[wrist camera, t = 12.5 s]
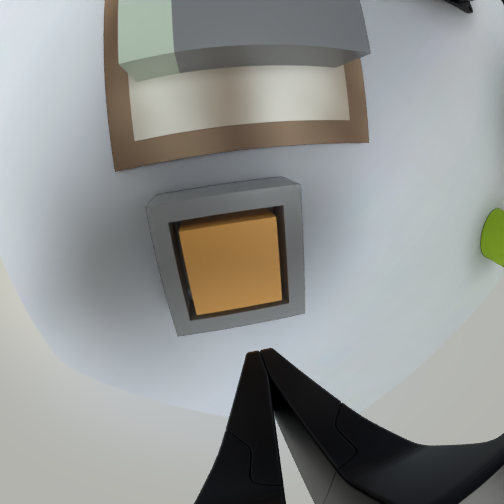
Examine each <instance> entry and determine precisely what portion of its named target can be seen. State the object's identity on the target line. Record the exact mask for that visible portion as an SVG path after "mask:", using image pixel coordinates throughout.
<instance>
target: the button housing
mask: <svg viewBox="0 0 504 504" xmlns="http://www.w3.org/2000/svg"><path fill="white" fill-rule="evenodd" d="M145 208H146V213H147V218H148V223H149V228H150V233H151V237H152V242H153V246H154V250H155V255H156V259H157V263H158V267H159V271H160V275H161V279H162V283H163V287H164V290H165V294H166V298H167V301H168V305H169V308H170V312H171V315H172V319H173V322H174V326H175V329H176V332H177V335H178V336H184V335H191V334H198V333H204V332H210V331H217V330H223V329H228V328H234V327H240V326H245V325H251V324H256V323H261V322H266V321H271V320H276V319H281V318H286V317H291V316H295V315H300V314H304V313H305V278H304V246H303V223H302V204H301V188H300V184H298V183H296V182H293V181H291V180H289V179H286V178H284V177H274V178H265V179H257V180H249V181H241V182H234V183H227V184H220V185H213V186H206V187H200V188H194V189H188V190H182V191H176V192H170V193H165V194H159V195H155V196H154V197H153V199H152V200H151V201H150V202H149V203H148V205H147V206H146V207H145ZM259 208H267V209H269V210H270V211H271V212H272V213H273V214H274V215H275V216H276V221H277V234H278V247H279V261H280V276H281V291H282V300H280V301H275V302H270V303H264V304H259V305H254V306H248V307H243V308H237V309H231V310H225V311H220V312H213V313H207V314H201V315H197V314H196V310H195V306H194V301H193V297H192V293H191V288H190V284H189V279H188V275H187V270H186V265H185V261H184V256H183V251H182V246H181V241H180V235H179V229H180V224H181V220H187V219H193V218H199V217H205V216H212V215H218V214H225V213H231V212H238V211H245V210H252V209H259Z"/></svg>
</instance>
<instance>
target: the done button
mask: <svg viewBox="0 0 504 504" xmlns="http://www.w3.org/2000/svg"><path fill="white" fill-rule="evenodd" d="M179 235H180V241H181V246H182V251H183V256H184V261H185V265H186V270H187V275H188V279H189V284H190V288H191V293H192V297H193V301H194V306H195V310H196V314H197V315H201V314H207V313H213V312H220V311H225V310H231V309H237V308H243V307H248V306H254V305H259V304H264V303H270V302H275V301H280V300H282V291H281V276H280V261H279V247H278V234H277V221H276V216H275V215H274V214H273V213H272V212H271V211H270V210H269V209H267V208H259V209H252V210H245V211H238V212H231V213H225V214H218V215H212V216H205V217H199V218H193V219H187V220H181V224H180V229H179Z"/></svg>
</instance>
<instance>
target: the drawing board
mask: <svg viewBox="0 0 504 504" xmlns="http://www.w3.org/2000/svg"><path fill="white" fill-rule="evenodd" d="M104 72H105V90H106V103H107V114H108V123H109V132H110V140H111V147H112V154H113V161H114V167H115V172H117V171H121V170H126V169H130V168H135V167H139V166H144V165H149V164H154V163H159V162H164V161H170V160H175V159H181V158H187V157H193V156H200V155H206V154H213V153H221V152H228V151H237V150H245V149H255V148H265V147H276V146H289V145H305V144H327V143H369V133H368V119H367V108H366V98H365V89H364V81H363V73H362V66H361V60H360V58H358V59H356V60H353V61H351V62H349V63H346V64H344V65H342V66H340V67H337V68H334V67H320V66H296V65H266V66H242V67H228V68H217V69H208V70H199V71H192V72H185V73H178V74H172V75H167V76H161V77H156V78H151V79H146V80H142V81H137V82H136V81H135V80H134V79H133V78H132V77H131V76H130V75H129V74H128V73H127V72H126V71H125V70H124V69H123V68H122V67H121V66H120V65H119V61H118V0H105V9H104Z"/></svg>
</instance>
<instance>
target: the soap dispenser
mask: <svg viewBox="0 0 504 504" xmlns="http://www.w3.org/2000/svg"><path fill="white" fill-rule="evenodd" d="M481 251H482V253H483V255H484V256H485V257H487V258H488V259H490V260H492V261H494V262H496V263H497V264H499V265H501V266H502V267H504V211H503V210H501V209H495V210H493V211H492V212H491V213H490V215H489V216H488V218H487V220H486V222H485V225H484V228H483V231H482V236H481Z"/></svg>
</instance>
